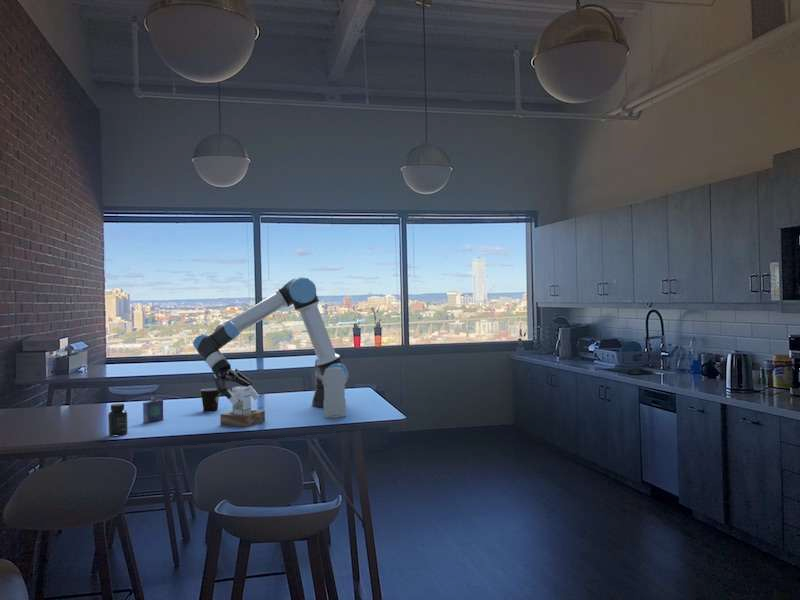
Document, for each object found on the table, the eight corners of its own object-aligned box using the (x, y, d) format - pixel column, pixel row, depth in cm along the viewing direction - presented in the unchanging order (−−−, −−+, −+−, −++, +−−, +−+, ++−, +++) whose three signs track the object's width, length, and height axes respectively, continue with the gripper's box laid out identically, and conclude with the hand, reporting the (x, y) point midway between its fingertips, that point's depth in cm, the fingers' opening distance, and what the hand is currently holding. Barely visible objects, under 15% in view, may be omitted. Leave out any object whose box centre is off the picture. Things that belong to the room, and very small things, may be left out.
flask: (145, 423, 271) (144, 398, 271) (141, 422, 273) (141, 398, 273) (164, 420, 278) (164, 395, 278) (161, 419, 280) (160, 395, 280)
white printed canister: (252, 419, 269) (251, 386, 269) (243, 422, 263) (242, 388, 263) (241, 419, 271) (240, 385, 271) (232, 421, 265) (231, 387, 265)
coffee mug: (208, 412, 293) (208, 391, 293) (197, 411, 298) (196, 390, 298) (228, 408, 303) (228, 388, 302) (217, 407, 308) (217, 386, 308)
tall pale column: (346, 415, 280) (345, 366, 280) (347, 417, 276) (346, 367, 276) (322, 416, 278) (321, 367, 277) (323, 418, 274) (322, 368, 273)
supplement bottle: (129, 432, 254) (128, 402, 253) (124, 436, 247) (124, 405, 247) (111, 433, 253) (110, 403, 252) (106, 437, 246) (105, 406, 246)
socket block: (241, 419, 276) (240, 408, 276) (264, 421, 270) (264, 410, 270) (220, 424, 264) (220, 414, 264) (244, 427, 259) (244, 416, 259)
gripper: (233, 366, 285) (260, 401, 279) (193, 373, 263) (221, 411, 256) (242, 355, 283) (270, 390, 276) (202, 361, 260) (231, 399, 254)
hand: (246, 400), depth 266 cm, fingers open, 13 cm apart
